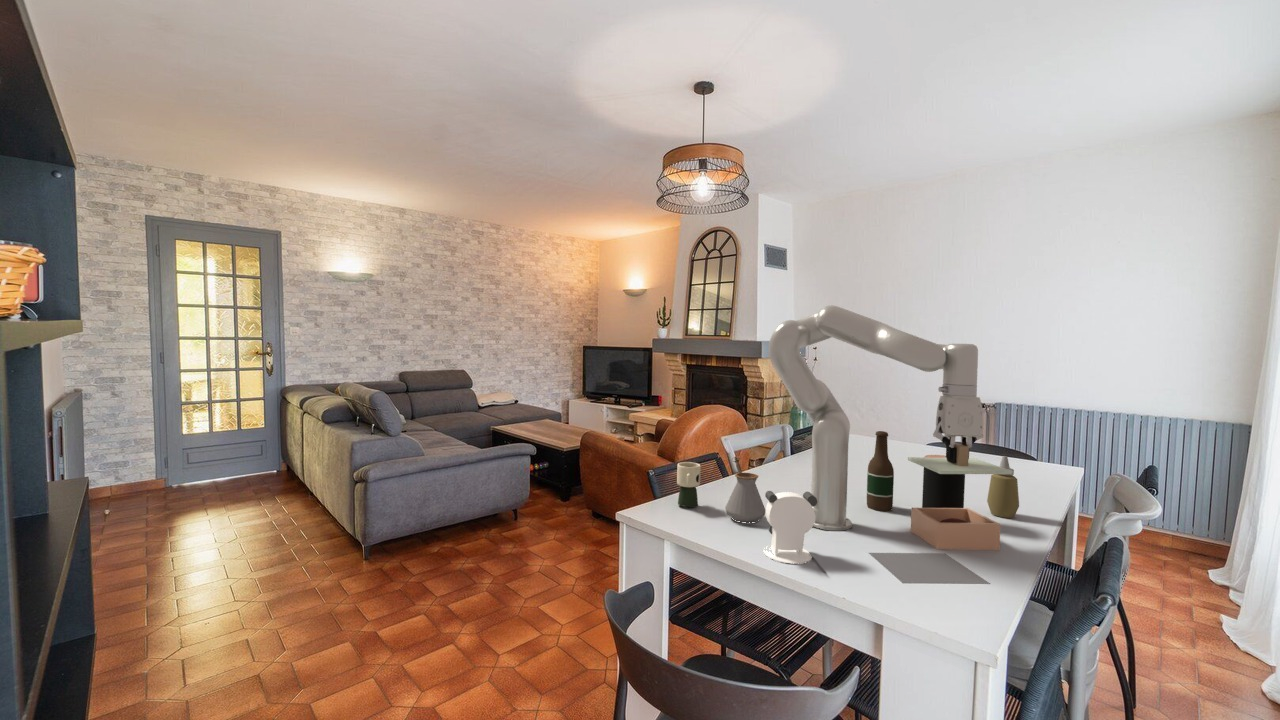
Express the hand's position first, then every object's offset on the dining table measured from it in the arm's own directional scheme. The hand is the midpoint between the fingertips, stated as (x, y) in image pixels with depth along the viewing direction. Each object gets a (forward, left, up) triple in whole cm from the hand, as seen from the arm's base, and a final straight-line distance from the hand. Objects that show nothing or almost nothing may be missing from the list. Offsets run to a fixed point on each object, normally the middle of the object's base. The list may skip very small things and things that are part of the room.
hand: (957, 461), depth 137 cm
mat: (-17, -17, -21) cm, 32 cm away
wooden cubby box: (0, 0, -21) cm, 21 cm away
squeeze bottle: (+29, +22, -21) cm, 42 cm away
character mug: (-67, +28, -21) cm, 75 cm away
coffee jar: (+8, +18, -21) cm, 29 cm away
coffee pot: (-51, +21, -21) cm, 59 cm away
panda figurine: (-46, -9, -21) cm, 52 cm away
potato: (0, 0, -21) cm, 21 cm away
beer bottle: (-6, +28, -21) cm, 36 cm away
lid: (0, 0, -1) cm, 1 cm away
